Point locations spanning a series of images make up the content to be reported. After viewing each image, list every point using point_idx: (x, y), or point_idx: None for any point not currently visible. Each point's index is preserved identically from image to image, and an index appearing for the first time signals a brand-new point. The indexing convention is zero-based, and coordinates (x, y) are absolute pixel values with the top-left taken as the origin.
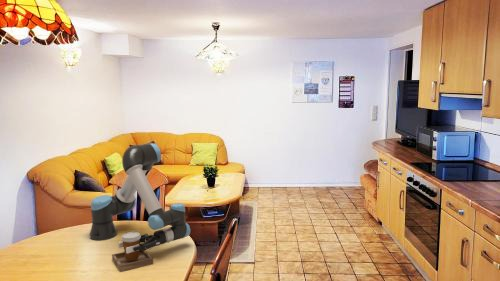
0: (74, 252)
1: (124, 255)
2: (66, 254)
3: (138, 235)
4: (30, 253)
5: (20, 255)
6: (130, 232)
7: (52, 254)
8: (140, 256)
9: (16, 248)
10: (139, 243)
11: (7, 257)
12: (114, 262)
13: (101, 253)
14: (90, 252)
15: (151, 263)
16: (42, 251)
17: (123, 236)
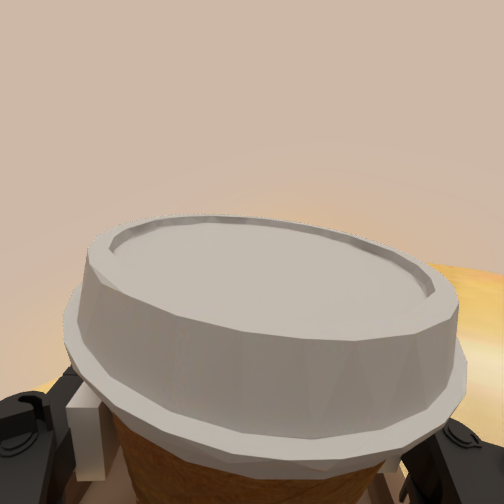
0: (486, 334)
1: (375, 494)
2: (459, 316)
3: (108, 264)
4: (464, 282)
5: (449, 273)
6: (423, 271)
7: (458, 299)
8: None
9: (500, 278)
10: (141, 481)
11: (436, 265)
12: None
13: (486, 404)
14: (496, 370)
15: None
16: (484, 294)
17: (292, 232)
